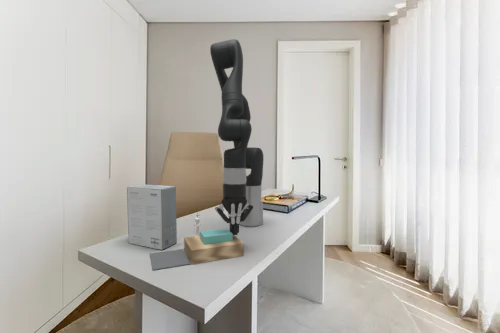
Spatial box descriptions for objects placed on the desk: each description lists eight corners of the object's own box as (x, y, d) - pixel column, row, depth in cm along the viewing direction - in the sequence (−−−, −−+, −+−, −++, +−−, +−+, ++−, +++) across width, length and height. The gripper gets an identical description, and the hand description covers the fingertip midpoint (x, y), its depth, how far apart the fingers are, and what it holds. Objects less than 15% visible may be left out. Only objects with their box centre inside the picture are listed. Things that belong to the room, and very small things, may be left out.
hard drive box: (177, 243, 95) (177, 186, 93) (162, 250, 88) (161, 189, 86) (144, 236, 101) (143, 183, 100) (127, 243, 94) (125, 186, 93)
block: (226, 235, 91) (226, 228, 91) (232, 241, 86) (232, 233, 86) (199, 238, 88) (199, 231, 88) (204, 244, 82) (204, 237, 82)
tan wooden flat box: (230, 243, 95) (230, 231, 95) (243, 255, 84) (243, 243, 84) (184, 249, 89) (184, 237, 89) (191, 264, 78) (191, 250, 78)
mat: (182, 249, 89) (182, 248, 89) (189, 264, 78) (189, 263, 78) (149, 254, 85) (149, 253, 85) (152, 270, 74) (152, 269, 74)
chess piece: (191, 238, 100) (191, 211, 99) (205, 238, 100) (204, 211, 100) (189, 243, 95) (189, 214, 94) (203, 242, 96) (203, 214, 95)
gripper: (248, 179, 94) (248, 229, 95) (211, 181, 88) (211, 233, 90) (258, 182, 87) (257, 235, 88) (218, 184, 82) (218, 240, 83)
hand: (234, 234), depth 89 cm, fingers closed
